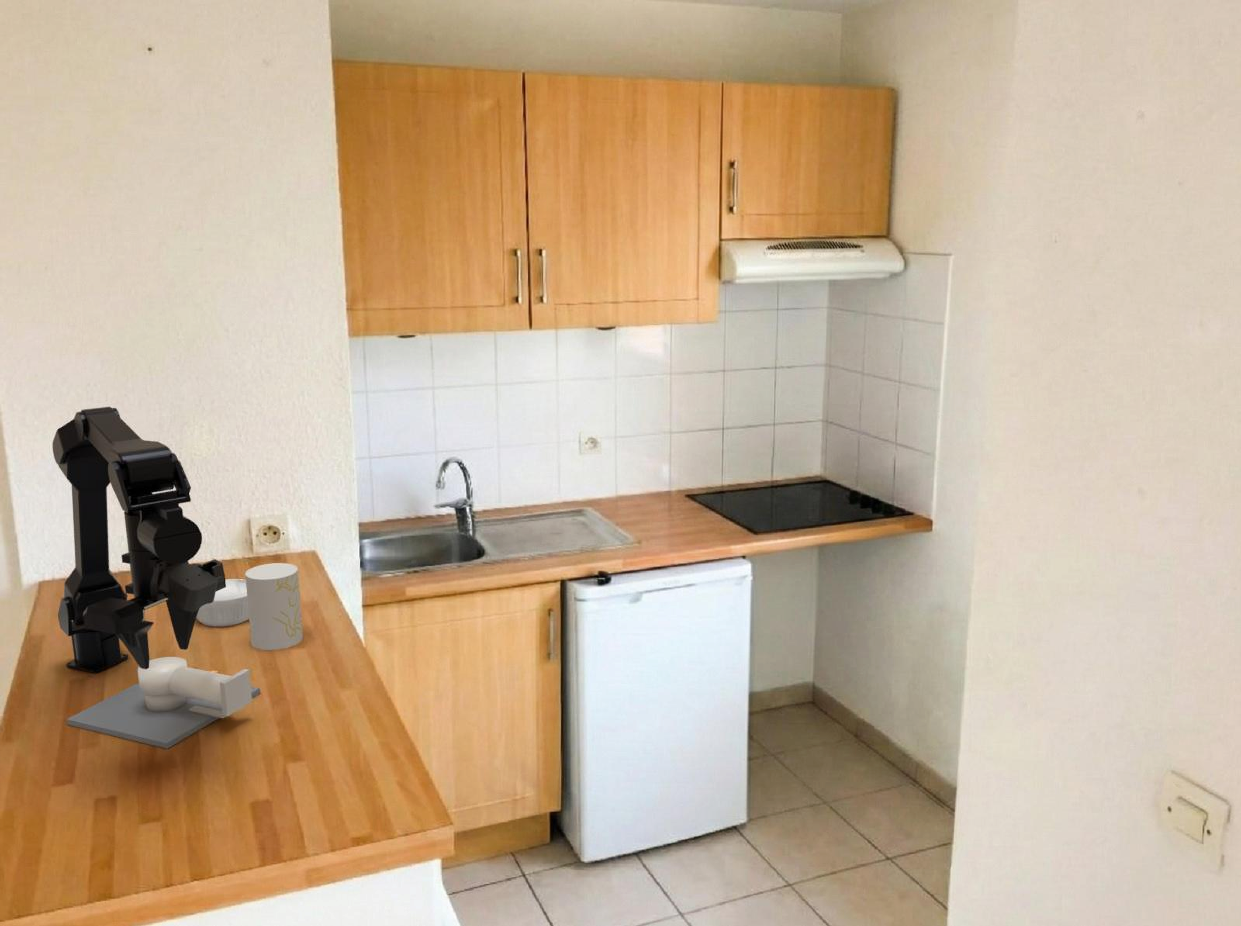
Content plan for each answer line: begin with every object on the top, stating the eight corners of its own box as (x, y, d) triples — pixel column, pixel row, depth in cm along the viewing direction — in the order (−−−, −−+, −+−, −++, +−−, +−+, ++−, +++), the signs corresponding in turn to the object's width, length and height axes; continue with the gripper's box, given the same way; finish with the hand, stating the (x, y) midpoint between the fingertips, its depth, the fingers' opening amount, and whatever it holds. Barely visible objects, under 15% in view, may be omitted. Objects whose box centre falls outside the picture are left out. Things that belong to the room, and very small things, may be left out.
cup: (287, 651, 173) (282, 581, 170) (241, 647, 174) (235, 577, 172) (311, 632, 181) (306, 564, 178) (267, 629, 182) (261, 561, 179)
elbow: (130, 698, 151) (126, 666, 150) (164, 680, 157) (161, 649, 156) (223, 719, 145) (220, 686, 144) (255, 699, 151) (253, 667, 150)
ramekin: (274, 614, 189) (272, 585, 188) (221, 634, 180) (218, 605, 179) (232, 601, 195) (230, 574, 194) (178, 621, 186) (175, 592, 185)
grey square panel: (67, 724, 149) (64, 703, 148) (175, 668, 166) (173, 649, 166) (177, 751, 141) (175, 728, 141) (278, 690, 159) (277, 669, 158)
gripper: (143, 575, 126) (157, 698, 129) (253, 531, 143) (262, 641, 146) (73, 563, 130) (88, 683, 134) (187, 522, 147) (198, 629, 150)
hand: (164, 658), depth 141 cm, fingers open, 6 cm apart
